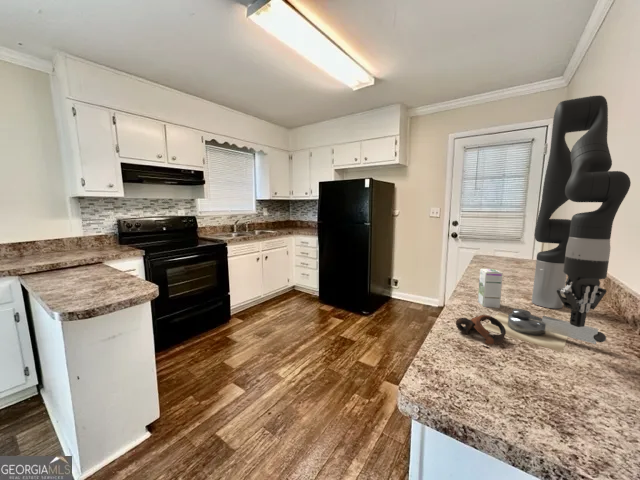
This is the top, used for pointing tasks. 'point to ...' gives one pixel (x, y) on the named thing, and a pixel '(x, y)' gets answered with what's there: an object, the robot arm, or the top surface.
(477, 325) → the brown curved loop piece
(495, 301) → the syrup box
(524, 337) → the beige flat square slab
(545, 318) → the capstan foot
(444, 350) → the top surface
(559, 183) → the robot arm
